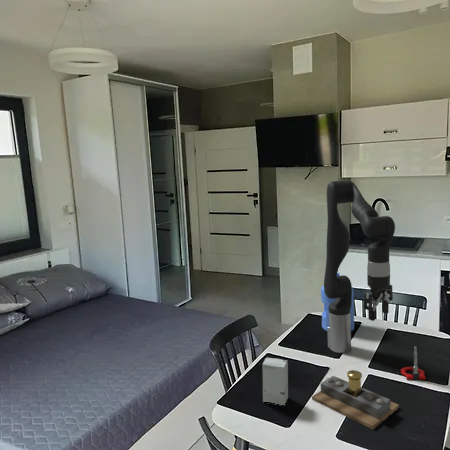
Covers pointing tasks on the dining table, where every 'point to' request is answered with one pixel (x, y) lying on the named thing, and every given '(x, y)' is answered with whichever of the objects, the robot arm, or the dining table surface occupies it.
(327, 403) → the board
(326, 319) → the water jug
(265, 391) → the skincare box
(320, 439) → the dining table surface
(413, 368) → the tow hook
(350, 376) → the pin
